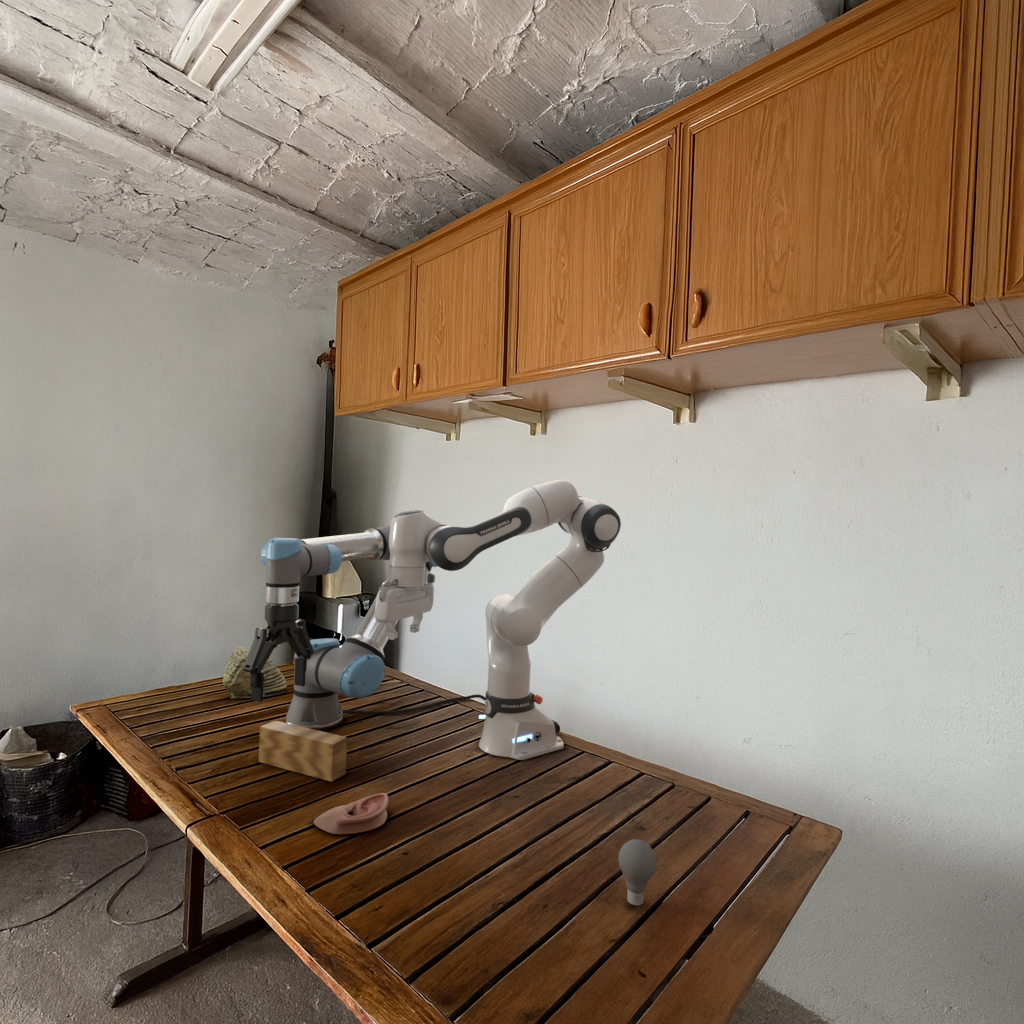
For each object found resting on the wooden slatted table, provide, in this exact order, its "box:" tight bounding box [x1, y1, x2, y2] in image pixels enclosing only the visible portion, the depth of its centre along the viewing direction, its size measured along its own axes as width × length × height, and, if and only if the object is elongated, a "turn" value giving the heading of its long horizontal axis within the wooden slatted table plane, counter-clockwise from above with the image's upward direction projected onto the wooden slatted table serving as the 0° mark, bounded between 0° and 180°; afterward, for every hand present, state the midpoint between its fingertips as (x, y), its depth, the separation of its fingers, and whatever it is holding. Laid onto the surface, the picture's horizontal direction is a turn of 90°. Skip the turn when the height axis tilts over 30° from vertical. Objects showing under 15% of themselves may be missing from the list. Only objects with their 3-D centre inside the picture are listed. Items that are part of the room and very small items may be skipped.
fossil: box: [222, 646, 288, 699], centre depth 198 cm, size 9×18×15 cm, turn 132°
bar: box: [258, 720, 348, 783], centre depth 147 cm, size 22×5×8 cm, turn 66°
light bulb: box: [618, 838, 657, 906], centre depth 102 cm, size 6×6×10 cm
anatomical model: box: [313, 792, 389, 835], centre depth 124 cm, size 13×4×12 cm
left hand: (279, 692), depth 150 cm, fingers open, 13 cm apart
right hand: (404, 635), depth 152 cm, fingers open, 8 cm apart
